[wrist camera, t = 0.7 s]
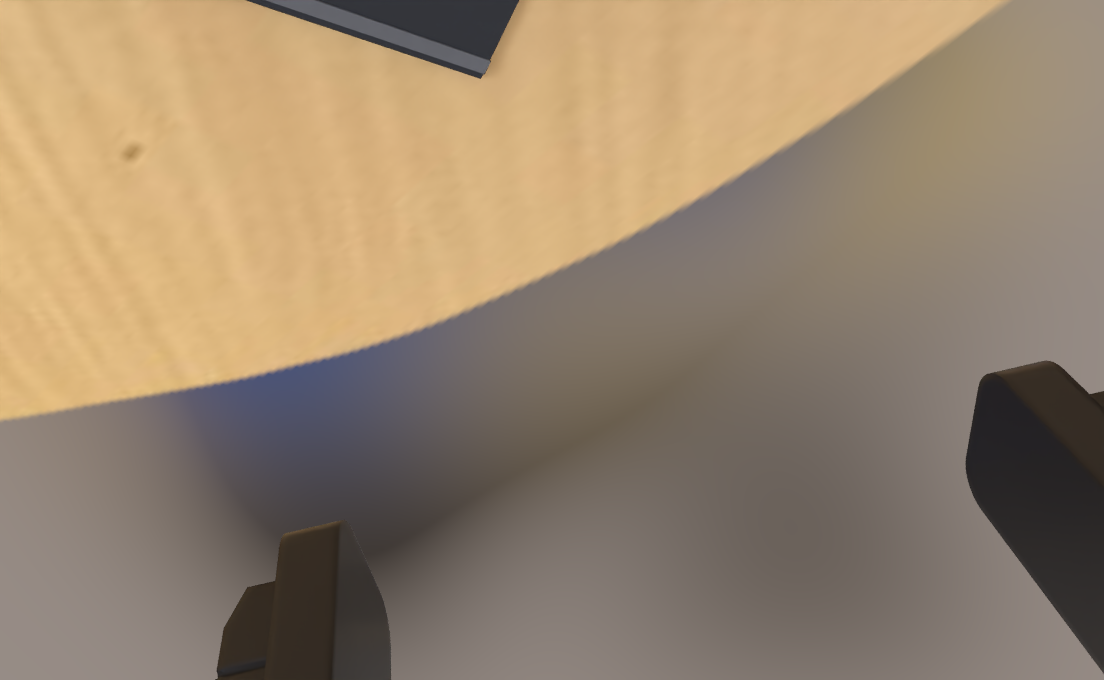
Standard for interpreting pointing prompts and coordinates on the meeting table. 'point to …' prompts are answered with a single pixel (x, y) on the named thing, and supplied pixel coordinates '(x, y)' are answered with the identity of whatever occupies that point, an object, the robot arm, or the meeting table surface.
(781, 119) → the meeting table surface
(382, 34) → the desk pad
